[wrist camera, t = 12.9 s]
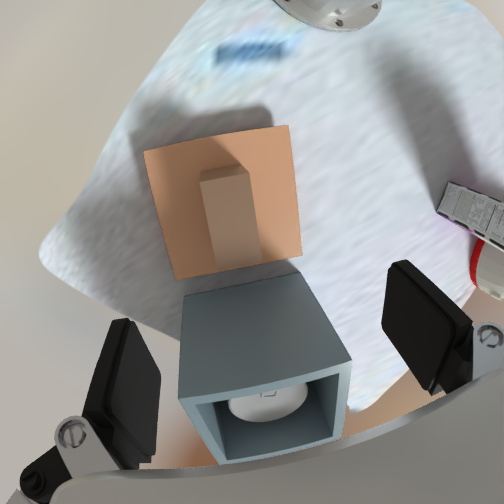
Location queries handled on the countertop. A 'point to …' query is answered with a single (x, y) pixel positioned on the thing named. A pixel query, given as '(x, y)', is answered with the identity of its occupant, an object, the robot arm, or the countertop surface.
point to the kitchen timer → (488, 269)
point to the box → (261, 367)
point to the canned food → (269, 404)
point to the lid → (226, 200)
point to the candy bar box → (474, 213)
